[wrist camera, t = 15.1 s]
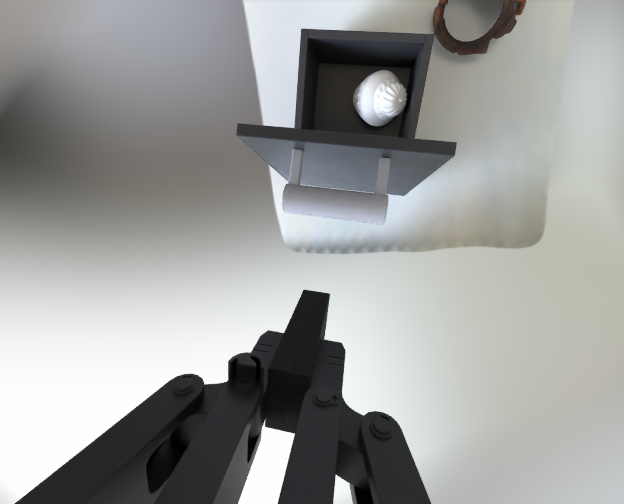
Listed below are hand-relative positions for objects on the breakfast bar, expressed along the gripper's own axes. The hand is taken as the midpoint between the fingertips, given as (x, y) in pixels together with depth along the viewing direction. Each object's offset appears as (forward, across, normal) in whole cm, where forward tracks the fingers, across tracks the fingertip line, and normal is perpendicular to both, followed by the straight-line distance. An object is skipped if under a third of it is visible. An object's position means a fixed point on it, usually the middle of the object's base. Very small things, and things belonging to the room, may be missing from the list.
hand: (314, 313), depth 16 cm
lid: (+13, 0, +8) cm, 15 cm away
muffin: (+28, 0, +16) cm, 33 cm away
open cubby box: (+30, 0, +13) cm, 33 cm away
